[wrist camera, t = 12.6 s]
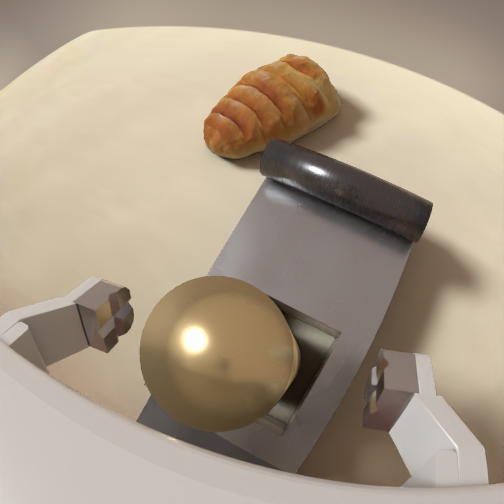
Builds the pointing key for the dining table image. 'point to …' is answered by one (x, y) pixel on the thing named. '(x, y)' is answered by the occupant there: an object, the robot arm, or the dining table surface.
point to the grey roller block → (312, 284)
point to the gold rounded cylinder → (217, 354)
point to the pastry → (271, 107)
